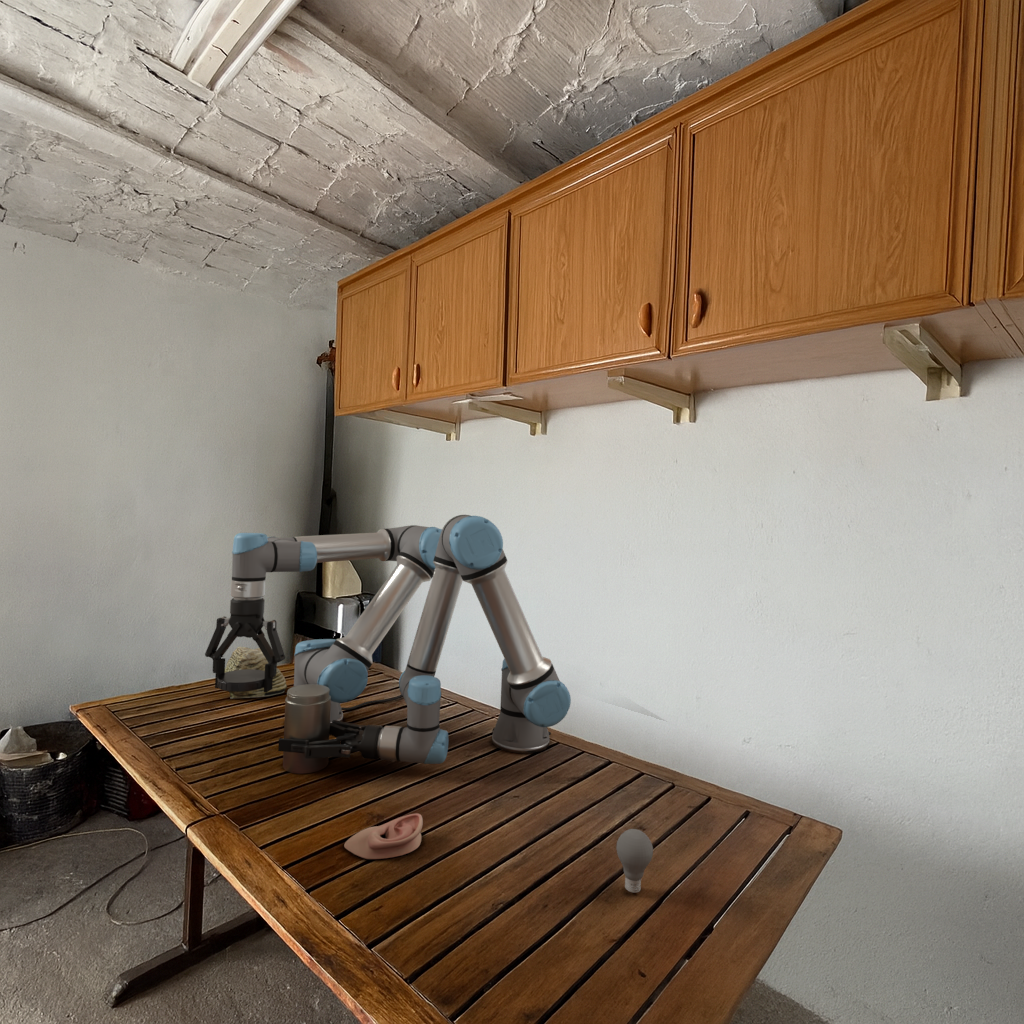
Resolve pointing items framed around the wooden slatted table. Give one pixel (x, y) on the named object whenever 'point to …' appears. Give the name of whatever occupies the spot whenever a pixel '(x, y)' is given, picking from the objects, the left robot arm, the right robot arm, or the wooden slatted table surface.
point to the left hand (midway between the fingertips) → (243, 688)
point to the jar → (306, 724)
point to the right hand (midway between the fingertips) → (289, 735)
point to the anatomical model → (387, 838)
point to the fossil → (256, 661)
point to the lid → (241, 680)
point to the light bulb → (634, 857)
